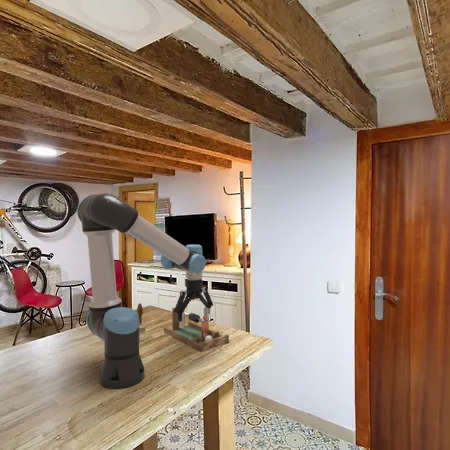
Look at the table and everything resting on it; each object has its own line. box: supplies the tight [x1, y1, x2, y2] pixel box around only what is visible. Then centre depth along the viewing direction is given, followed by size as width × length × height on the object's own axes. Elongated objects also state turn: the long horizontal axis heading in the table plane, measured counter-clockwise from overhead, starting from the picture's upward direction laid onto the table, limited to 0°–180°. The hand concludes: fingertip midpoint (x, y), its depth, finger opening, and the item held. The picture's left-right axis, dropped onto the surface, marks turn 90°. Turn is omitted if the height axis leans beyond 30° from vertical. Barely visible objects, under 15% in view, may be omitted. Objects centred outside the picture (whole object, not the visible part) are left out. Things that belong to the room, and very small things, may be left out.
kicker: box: [183, 311, 210, 342], centre depth 156 cm, size 3×27×11 cm, turn 40°
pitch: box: [163, 307, 230, 352], centre depth 153 cm, size 15×30×12 cm, turn 40°
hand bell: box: [136, 303, 150, 342], centre depth 155 cm, size 8×8×16 cm
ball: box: [205, 335, 213, 341], centre depth 145 cm, size 4×4×4 cm
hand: (194, 324), depth 153 cm, fingers open, 13 cm apart
